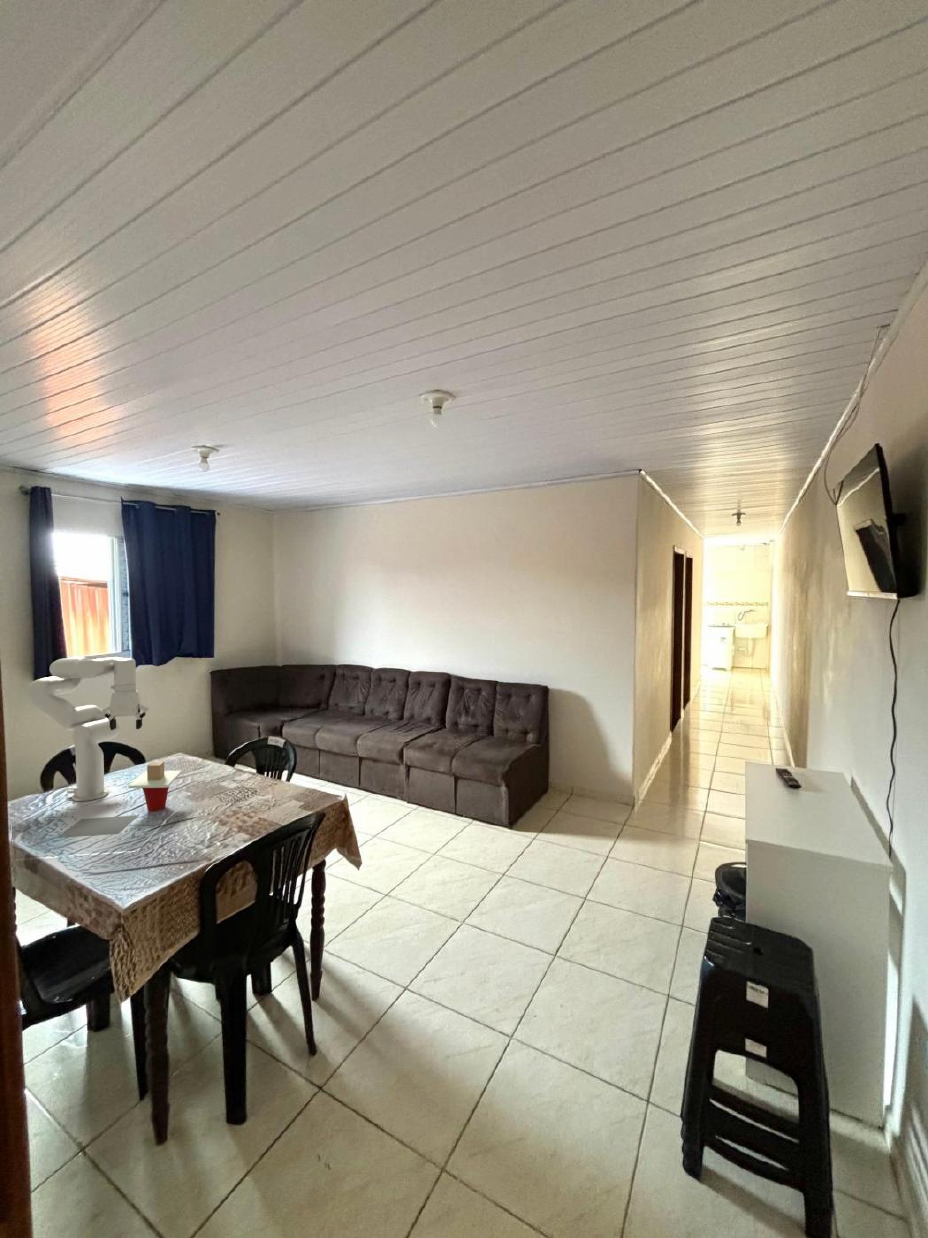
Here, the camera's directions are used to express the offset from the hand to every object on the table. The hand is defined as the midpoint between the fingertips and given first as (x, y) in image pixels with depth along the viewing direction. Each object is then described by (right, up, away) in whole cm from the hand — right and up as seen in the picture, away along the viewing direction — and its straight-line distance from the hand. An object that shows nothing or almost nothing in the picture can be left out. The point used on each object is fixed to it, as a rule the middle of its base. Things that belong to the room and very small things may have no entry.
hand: (126, 729), depth 214 cm
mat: (+6, -31, -24) cm, 40 cm away
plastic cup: (+18, -31, -8) cm, 36 cm away
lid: (+18, -19, -9) cm, 27 cm away
